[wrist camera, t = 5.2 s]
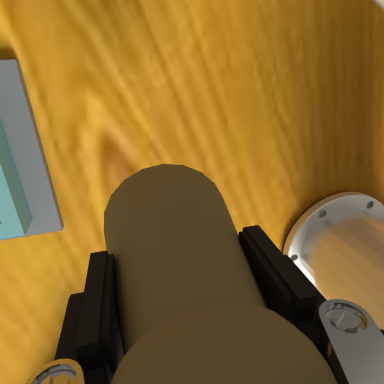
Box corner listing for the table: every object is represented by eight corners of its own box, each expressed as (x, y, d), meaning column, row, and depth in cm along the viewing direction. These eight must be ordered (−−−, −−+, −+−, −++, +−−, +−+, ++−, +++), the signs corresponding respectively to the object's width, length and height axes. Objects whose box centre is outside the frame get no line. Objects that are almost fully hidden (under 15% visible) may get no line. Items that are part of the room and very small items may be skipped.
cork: (247, 223, 16) (454, 487, 6) (159, 292, 16) (215, 640, 6) (176, 136, 13) (330, 344, 3) (74, 221, 14) (-48, 614, 4)
